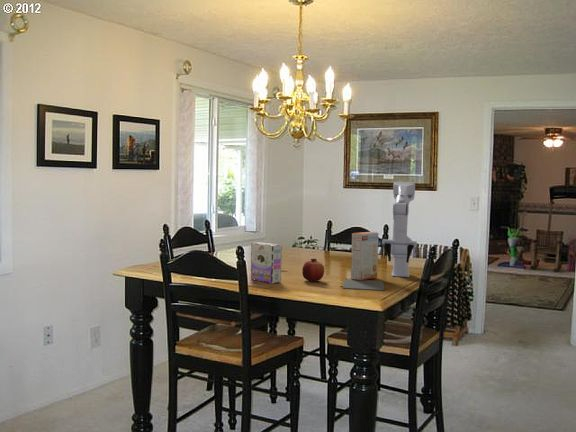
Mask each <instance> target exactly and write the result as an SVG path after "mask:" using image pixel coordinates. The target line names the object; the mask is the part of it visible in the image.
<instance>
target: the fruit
mask: <svg viewBox="0 0 576 432" xmlns="http://www.w3.org/2000/svg"><path fill="white" fill-rule="evenodd" d="M301 270H302V276H303V278H304V279H305V280H307V281H308V282H319V281H320V280H322V279H323V277H324V275H325V267H324V265H323V264H322V263H321V262H320V261H318V259H317V258H311V259H310V260H308V261H306V262H305V263H304V264H303V266H302V269H301Z"/></svg>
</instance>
